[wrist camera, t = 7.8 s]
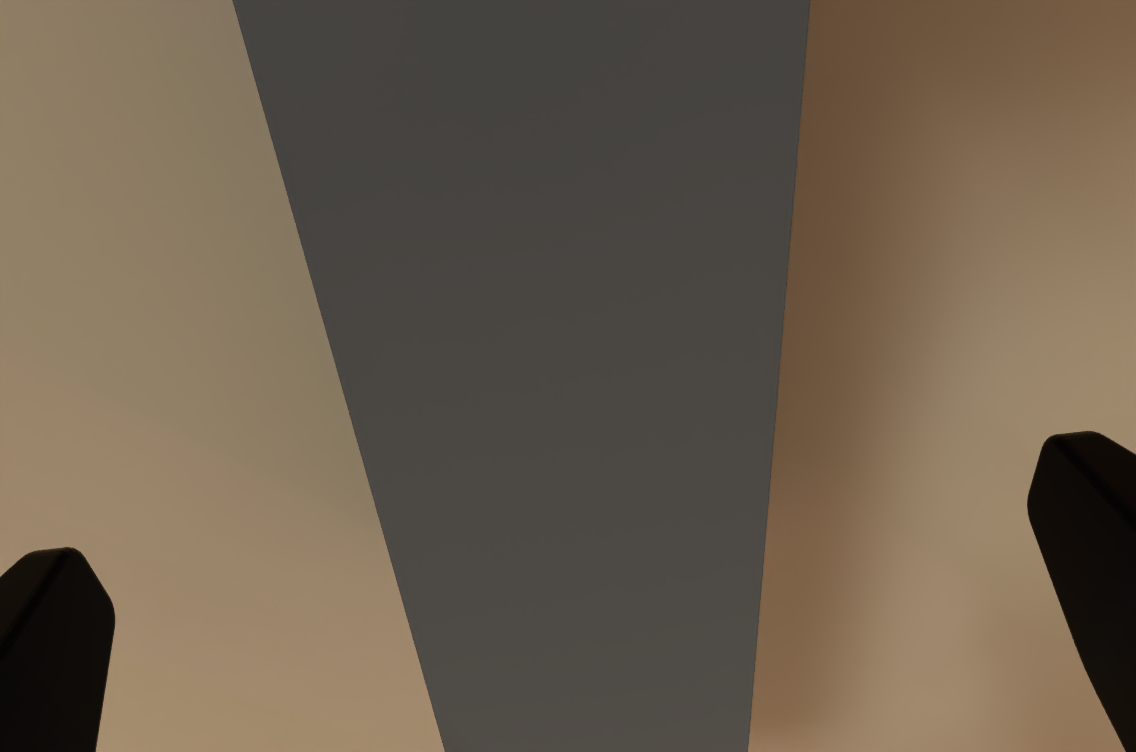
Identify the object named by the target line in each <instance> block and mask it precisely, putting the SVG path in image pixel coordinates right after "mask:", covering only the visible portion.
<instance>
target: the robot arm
mask: <svg viewBox="0 0 1136 752" xmlns="http://www.w3.org/2000/svg"><path fill="white" fill-rule="evenodd" d="M1027 508H1028V516H1029V520H1030V523H1031V526H1032V529H1033V532H1034V534H1035V537H1036V540H1037V542H1038V545H1039V548H1040V551H1041V553H1042V556H1043V559H1044V561H1045V564H1046V567H1047V570H1048V572H1049V575H1050V578H1051V580H1052V583H1053V586H1054V589H1055V591H1056V594H1057V597H1058V600H1059V602H1060V605H1061V608H1062V610H1063V613H1064V616H1065V619H1066V621H1067V624H1068V627H1069V629H1070V632H1071V635H1072V638H1073V640H1074V643H1075V646H1076V648H1077V651H1078V653H1079V656H1080V658H1081V661H1082V663H1083V666H1084V668H1085V670H1086V672H1087V674H1088V677H1089V679H1090V681H1091V683H1092V685H1093V687H1094V689H1095V691H1096V693H1097V695H1098V697H1099V699H1100V701H1101V703H1102V705H1103V707H1104V709H1105V711H1106V713H1107V715H1108V717H1109V719H1110V721H1111V723H1112V725H1113V727H1114V729H1115V731H1116V733H1117V735H1118V737H1119V739H1120V741H1121V743H1122V745H1123V747H1124V749H1125V751H1126V752H1136V454H1134V453H1133V452H1131V451H1129V450H1128V449H1126V448H1124V447H1123V446H1121V445H1119V444H1117V443H1116V442H1114V441H1112V440H1111V439H1109V438H1107V437H1106V436H1104V435H1102V434H1100V433H1097V432H1094V431H1083V432H1074V433H1065V434H1056V435H1053V436H1050V437H1049V438H1048V439H1047V440H1046V441H1045V442H1044V444H1043V446H1042V449H1041V452H1040V456H1039V459H1038V462H1037V466H1036V469H1035V473H1034V476H1033V480H1032V483H1031V487H1030V490H1029V494H1028V500H1027ZM114 629H115V612H114V607H113V604H112V601H111V599H110V597H109V596H108V594H107V592H106V591H105V589H104V587H103V586H102V584H101V583H100V581H99V579H98V578H97V576H96V575H95V573H94V571H93V570H92V568H91V567H90V565H89V563H88V562H87V560H86V558H85V557H84V555H83V554H82V553H81V552H80V551H78V550H77V549H75V548H70V547H65V548H56V549H47V550H39V551H33V552H30V553H28V554H26V555H25V556H23V557H22V558H21V559H20V560H18V561H17V562H16V563H15V564H14V565H13V566H12V567H11V568H10V569H8V570H7V571H6V572H5V573H4V574H3V575H2V576H1V577H0V752H96V746H97V740H98V733H99V727H100V720H101V714H102V707H103V701H104V694H105V688H106V681H107V675H108V668H109V662H110V655H111V649H112V642H113V636H114Z"/></svg>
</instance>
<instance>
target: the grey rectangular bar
mask: <svg viewBox="0 0 1136 752" xmlns="http://www.w3.org/2000/svg"><path fill="white" fill-rule="evenodd" d="M233 4H234V7H235V11H236V14H237V18H238V21H239V25H240V28H241V32H242V35H243V39H244V42H245V46H246V50H247V53H248V57H249V60H250V64H251V67H252V71H253V74H254V78H255V81H256V85H257V88H258V92H259V96H260V99H261V103H262V106H263V110H264V113H265V117H266V120H267V124H268V127H269V131H270V134H271V138H272V142H273V145H274V149H275V152H276V156H277V159H278V163H279V166H280V170H281V173H282V177H283V180H284V184H285V188H286V191H287V195H288V198H289V202H290V205H291V209H292V212H293V216H294V219H295V223H296V226H297V230H298V234H299V237H300V241H301V244H302V248H303V251H304V255H305V258H306V262H307V265H308V269H309V272H310V276H311V279H312V283H313V287H314V290H315V294H316V297H317V301H318V304H319V308H320V311H321V315H322V318H323V322H324V325H325V329H326V333H327V336H328V340H329V343H330V347H331V350H332V354H333V357H334V361H335V364H336V368H337V371H338V375H339V379H340V382H341V386H342V389H343V393H344V396H345V400H346V403H347V407H348V410H349V414H350V417H351V421H352V425H353V428H354V432H355V435H356V439H357V442H358V446H359V449H360V453H361V456H362V460H363V463H364V467H365V471H366V474H367V478H368V481H369V485H370V488H371V492H372V495H373V499H374V502H375V506H376V509H377V513H378V516H379V520H380V524H381V527H382V531H383V534H384V538H385V541H386V545H387V548H388V552H389V555H390V559H391V562H392V566H393V570H394V573H395V577H396V580H397V584H398V587H399V591H400V594H401V598H402V601H403V605H404V608H405V612H406V616H407V619H408V623H409V626H410V630H411V633H412V637H413V640H414V644H415V647H416V651H417V654H418V658H419V662H420V665H421V669H422V672H423V676H424V679H425V683H426V686H427V690H428V693H429V697H430V700H431V704H432V708H433V711H434V715H435V718H436V722H437V725H438V729H439V732H440V736H441V739H442V743H443V746H444V750H445V752H748V744H749V732H750V720H751V708H752V696H753V684H754V672H755V660H756V647H757V635H758V623H759V611H760V599H761V587H762V575H763V563H764V551H765V539H766V527H767V515H768V503H769V490H770V478H771V466H772V454H773V442H774V430H775V418H776V406H777V394H778V382H779V370H780V358H781V346H782V333H783V321H784V309H785V297H786V285H787V273H788V261H789V249H790V237H791V225H792V213H793V201H794V189H795V176H796V164H797V152H798V140H799V128H800V116H801V104H802V92H803V80H804V68H805V56H806V44H807V32H808V20H809V7H810V0H233Z"/></svg>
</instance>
